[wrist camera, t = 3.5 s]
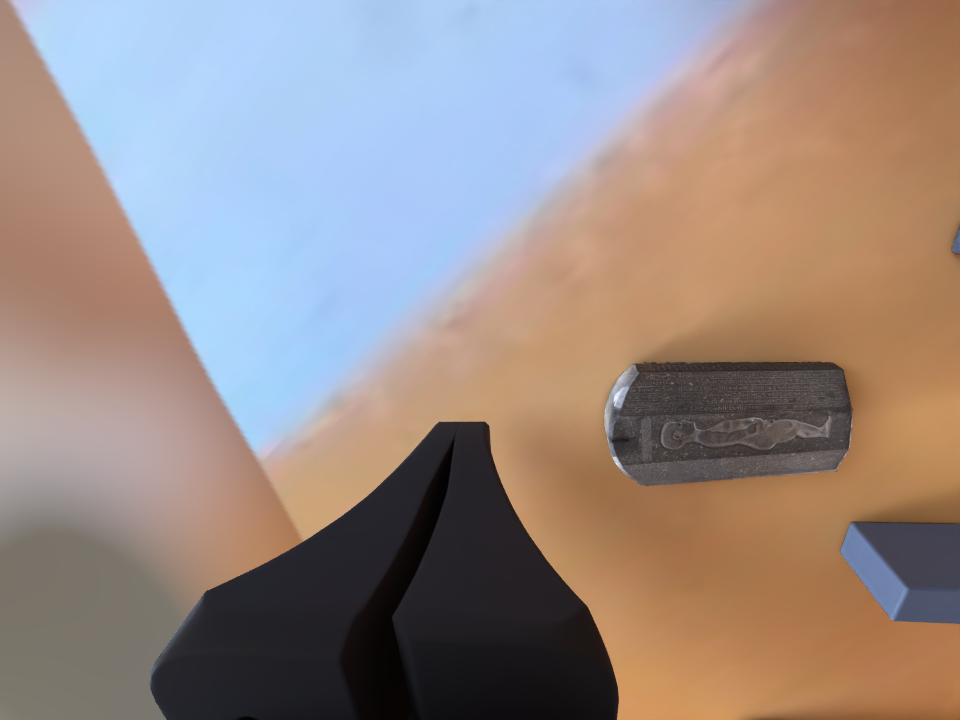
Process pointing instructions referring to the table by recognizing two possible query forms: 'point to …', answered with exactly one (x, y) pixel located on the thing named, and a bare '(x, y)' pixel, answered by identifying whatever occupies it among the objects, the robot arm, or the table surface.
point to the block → (728, 420)
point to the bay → (909, 564)
